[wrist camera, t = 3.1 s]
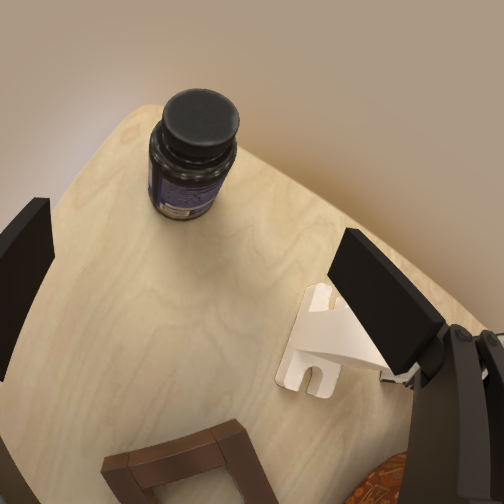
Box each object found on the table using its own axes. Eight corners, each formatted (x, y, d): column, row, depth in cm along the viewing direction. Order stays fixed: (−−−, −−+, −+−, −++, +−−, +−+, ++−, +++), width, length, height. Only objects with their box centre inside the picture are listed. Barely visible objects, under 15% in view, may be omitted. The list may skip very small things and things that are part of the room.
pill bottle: (227, 195, 28) (271, 126, 17) (178, 236, 25) (198, 178, 15) (184, 150, 27) (207, 68, 17) (134, 187, 25) (130, 107, 15)
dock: (164, 545, 17) (168, 562, 14) (104, 457, 18) (99, 471, 16) (276, 508, 21) (288, 522, 19) (235, 418, 23) (245, 428, 20)
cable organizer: (349, 303, 29) (423, 290, 20) (319, 396, 26) (390, 418, 17) (307, 283, 28) (377, 262, 19) (272, 383, 25) (336, 408, 16)
